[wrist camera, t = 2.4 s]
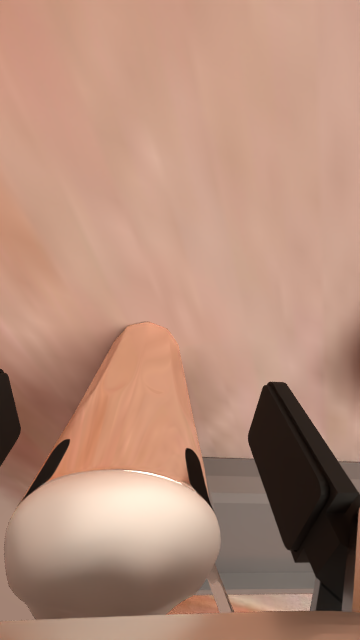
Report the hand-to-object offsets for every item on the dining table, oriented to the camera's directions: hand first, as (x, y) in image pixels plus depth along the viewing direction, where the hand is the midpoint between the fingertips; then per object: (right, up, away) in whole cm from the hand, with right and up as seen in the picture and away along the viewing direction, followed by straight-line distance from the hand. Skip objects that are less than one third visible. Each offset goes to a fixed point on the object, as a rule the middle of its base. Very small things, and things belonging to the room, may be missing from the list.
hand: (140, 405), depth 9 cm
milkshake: (0, +2, +4) cm, 4 cm away
